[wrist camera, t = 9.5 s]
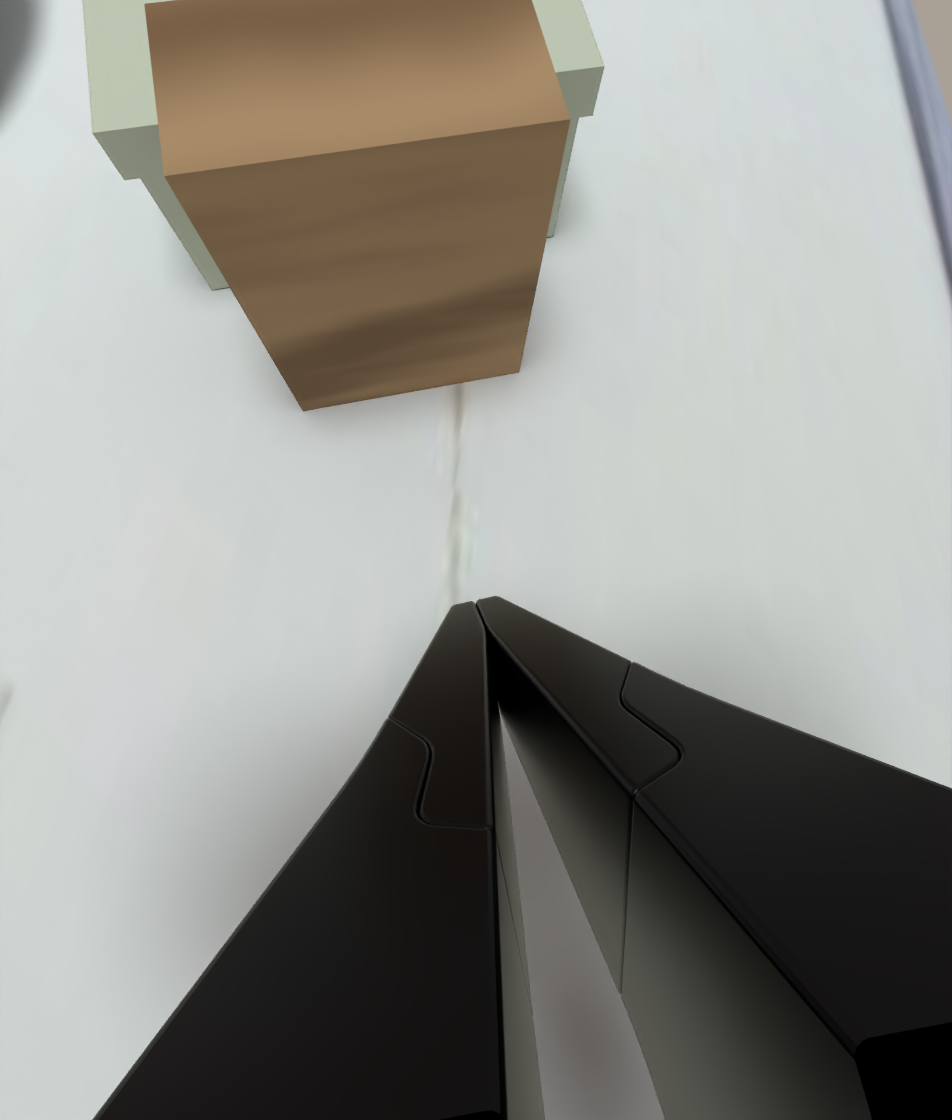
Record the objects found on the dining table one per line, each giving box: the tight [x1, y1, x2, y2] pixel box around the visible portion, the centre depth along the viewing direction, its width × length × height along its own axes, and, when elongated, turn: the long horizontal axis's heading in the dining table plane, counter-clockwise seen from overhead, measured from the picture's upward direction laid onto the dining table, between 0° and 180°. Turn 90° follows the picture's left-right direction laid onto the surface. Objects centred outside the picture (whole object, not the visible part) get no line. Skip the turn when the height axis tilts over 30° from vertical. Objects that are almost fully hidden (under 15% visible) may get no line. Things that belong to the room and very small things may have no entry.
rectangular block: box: [144, 0, 571, 411], centre depth 17 cm, size 13×9×10 cm
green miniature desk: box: [82, 0, 604, 290], centre depth 20 cm, size 9×16×6 cm, turn 102°
